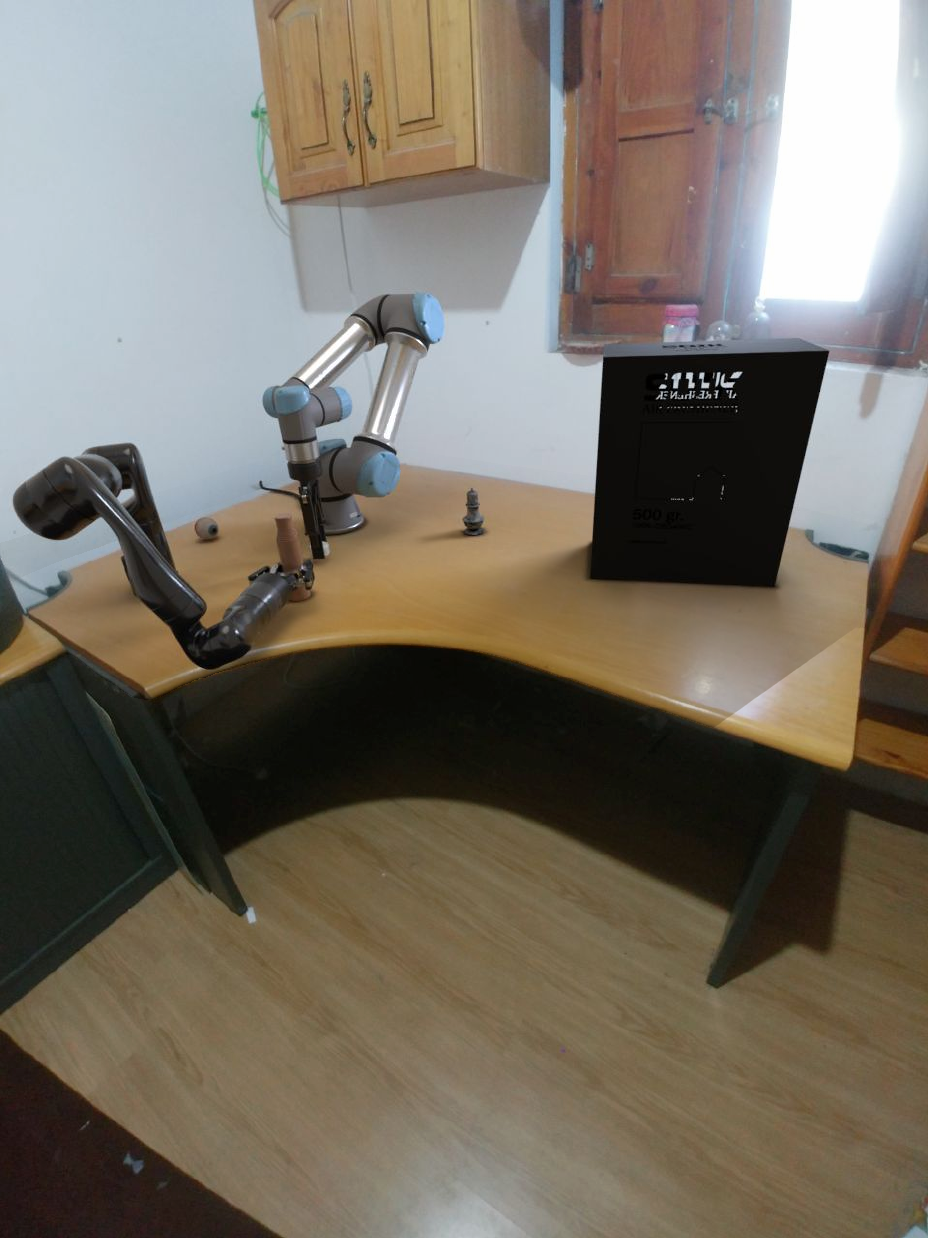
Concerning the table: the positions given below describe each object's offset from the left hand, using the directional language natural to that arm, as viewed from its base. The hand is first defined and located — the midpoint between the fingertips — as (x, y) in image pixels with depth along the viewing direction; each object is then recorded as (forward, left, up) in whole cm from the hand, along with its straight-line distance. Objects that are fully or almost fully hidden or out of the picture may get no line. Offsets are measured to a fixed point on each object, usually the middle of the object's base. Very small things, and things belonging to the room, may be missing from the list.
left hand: (298, 562), depth 132 cm
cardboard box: (+82, +20, -7) cm, 85 cm away
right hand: (-2, +16, -5) cm, 17 cm away
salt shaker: (+33, +36, -7) cm, 49 cm away
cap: (-2, +16, -3) cm, 16 cm away
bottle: (0, -3, -7) cm, 7 cm away
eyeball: (-39, +27, -7) cm, 48 cm away
